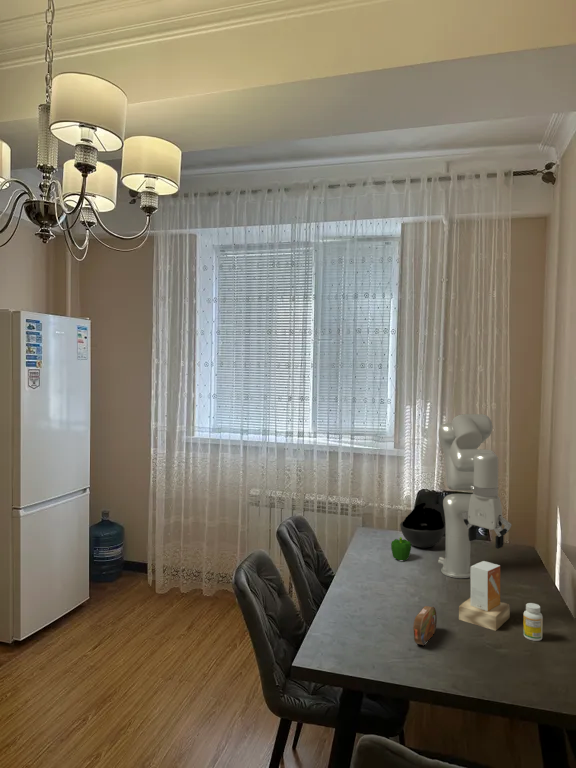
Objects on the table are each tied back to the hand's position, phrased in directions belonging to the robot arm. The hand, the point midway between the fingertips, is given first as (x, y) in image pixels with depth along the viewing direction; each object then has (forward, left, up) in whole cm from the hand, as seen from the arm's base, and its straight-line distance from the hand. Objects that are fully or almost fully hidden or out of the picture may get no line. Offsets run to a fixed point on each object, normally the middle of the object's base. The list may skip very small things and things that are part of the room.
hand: (485, 543), depth 181 cm
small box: (0, 0, -20) cm, 20 cm away
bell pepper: (-55, +23, -25) cm, 64 cm away
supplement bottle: (+16, 0, -25) cm, 30 cm away
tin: (-4, -26, -25) cm, 36 cm away
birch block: (0, 0, -25) cm, 25 cm away
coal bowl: (-60, +44, -25) cm, 78 cm away
